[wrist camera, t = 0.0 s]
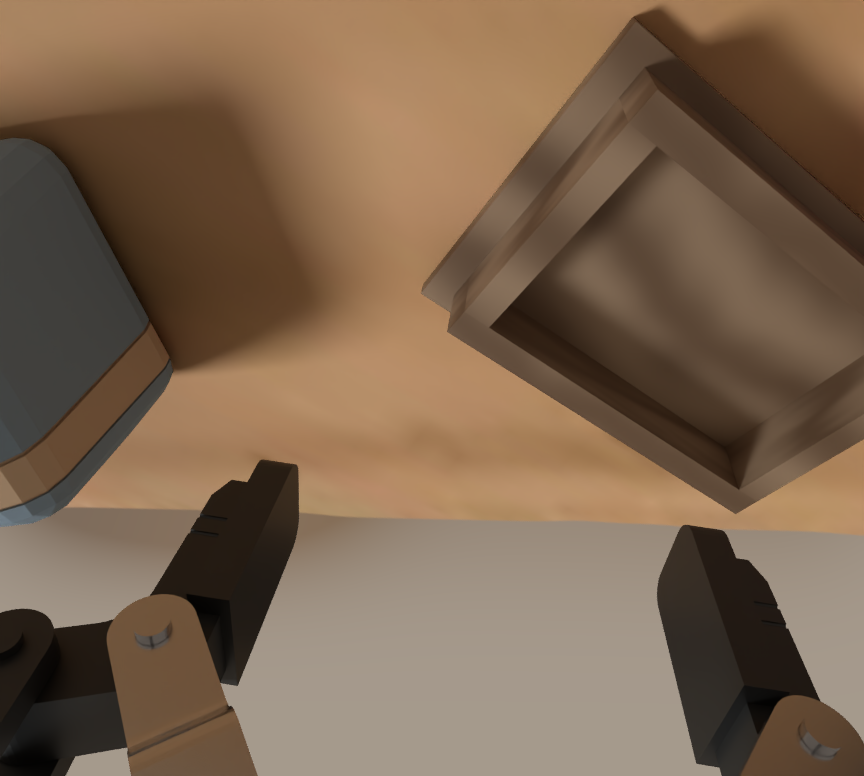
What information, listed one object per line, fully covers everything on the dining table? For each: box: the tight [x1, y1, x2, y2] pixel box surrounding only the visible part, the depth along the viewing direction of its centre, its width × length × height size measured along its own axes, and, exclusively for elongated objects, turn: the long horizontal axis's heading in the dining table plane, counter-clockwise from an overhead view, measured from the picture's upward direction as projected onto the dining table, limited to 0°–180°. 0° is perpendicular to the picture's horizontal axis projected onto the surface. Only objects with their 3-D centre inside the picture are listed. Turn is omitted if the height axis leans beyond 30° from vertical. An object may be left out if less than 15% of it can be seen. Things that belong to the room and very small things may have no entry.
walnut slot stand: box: [421, 17, 864, 514], centre depth 33 cm, size 16×24×4 cm, turn 56°
